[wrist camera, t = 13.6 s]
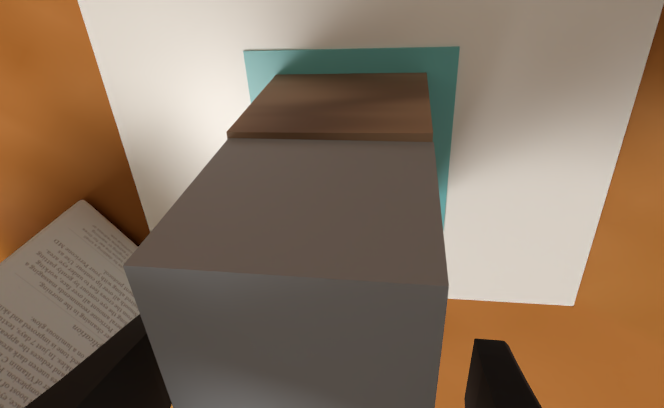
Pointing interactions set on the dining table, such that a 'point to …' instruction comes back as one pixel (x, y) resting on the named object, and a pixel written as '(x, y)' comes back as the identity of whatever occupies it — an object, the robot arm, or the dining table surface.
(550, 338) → the dining table surface
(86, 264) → the small box
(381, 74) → the walnut block
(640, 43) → the board
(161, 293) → the slate block
